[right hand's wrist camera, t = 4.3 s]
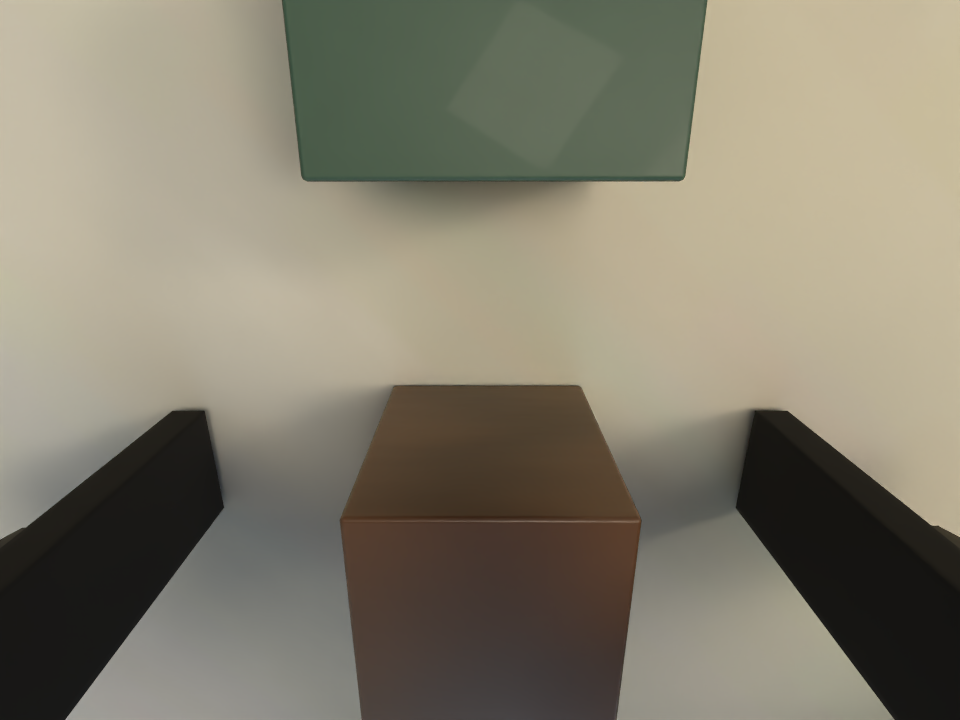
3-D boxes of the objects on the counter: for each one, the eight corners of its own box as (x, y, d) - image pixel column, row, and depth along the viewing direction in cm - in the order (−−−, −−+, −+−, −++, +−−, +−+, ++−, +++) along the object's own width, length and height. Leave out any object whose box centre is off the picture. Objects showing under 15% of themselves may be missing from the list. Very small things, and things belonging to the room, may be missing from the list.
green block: (615, -91, 9) (755, -366, 4) (596, 176, 11) (687, 181, 6) (364, -90, 9) (238, -363, 4) (380, 176, 11) (301, 181, 6)
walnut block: (581, 384, 12) (643, 519, 8) (570, 539, 14) (616, 732, 9) (393, 384, 12) (337, 518, 8) (402, 539, 14) (361, 731, 9)
